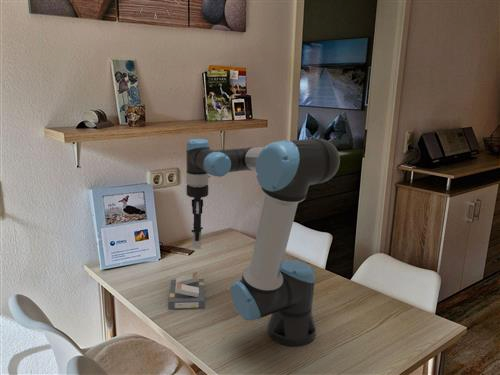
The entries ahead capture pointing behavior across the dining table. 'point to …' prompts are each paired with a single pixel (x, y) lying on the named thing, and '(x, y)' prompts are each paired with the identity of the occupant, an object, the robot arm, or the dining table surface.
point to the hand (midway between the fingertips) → (196, 247)
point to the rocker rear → (188, 278)
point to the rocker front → (186, 290)
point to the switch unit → (187, 297)
